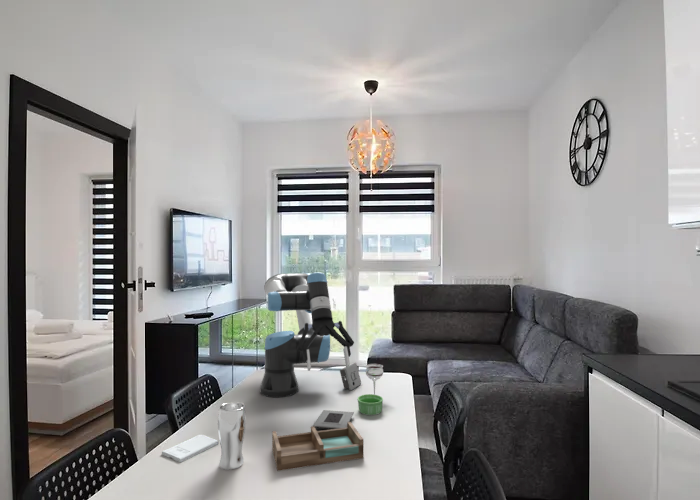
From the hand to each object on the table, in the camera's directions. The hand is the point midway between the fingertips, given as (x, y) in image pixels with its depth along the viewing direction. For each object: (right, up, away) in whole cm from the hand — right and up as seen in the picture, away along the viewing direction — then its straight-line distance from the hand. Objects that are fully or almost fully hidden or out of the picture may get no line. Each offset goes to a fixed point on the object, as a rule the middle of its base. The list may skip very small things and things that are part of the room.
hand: (329, 367), depth 140 cm
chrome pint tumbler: (-24, -16, -33) cm, 44 cm away
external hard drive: (-38, -16, -25) cm, 48 cm away
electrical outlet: (+2, -17, -8) cm, 18 cm away
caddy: (-2, -16, -28) cm, 32 cm away
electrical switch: (+7, -17, +29) cm, 35 cm away
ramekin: (+14, -16, +3) cm, 22 cm away
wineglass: (+17, -16, +16) cm, 29 cm away
